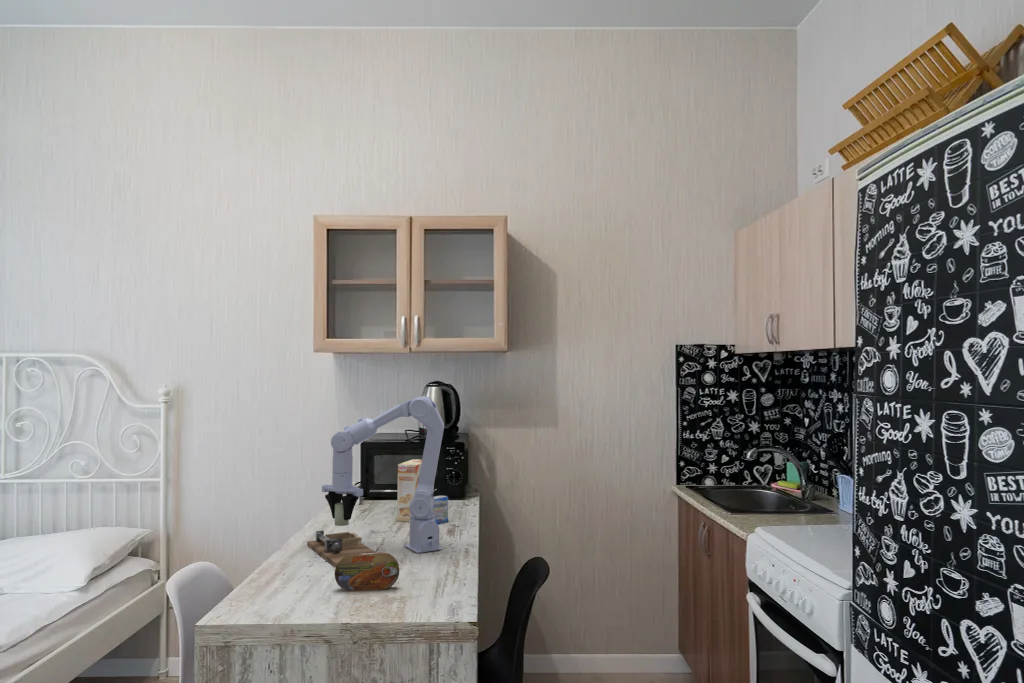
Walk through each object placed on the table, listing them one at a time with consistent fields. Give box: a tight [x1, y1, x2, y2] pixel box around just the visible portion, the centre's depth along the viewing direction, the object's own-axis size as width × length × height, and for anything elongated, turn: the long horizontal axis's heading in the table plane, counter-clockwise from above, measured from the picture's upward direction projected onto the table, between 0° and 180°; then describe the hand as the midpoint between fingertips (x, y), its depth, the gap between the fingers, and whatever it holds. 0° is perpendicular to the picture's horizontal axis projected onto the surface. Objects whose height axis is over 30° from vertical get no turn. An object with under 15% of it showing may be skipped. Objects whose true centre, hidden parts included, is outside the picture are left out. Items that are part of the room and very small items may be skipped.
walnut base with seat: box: [306, 530, 378, 568], centre depth 197 cm, size 29×13×3 cm, turn 32°
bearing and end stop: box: [315, 529, 342, 553], centre depth 200 cm, size 14×4×3 cm, turn 32°
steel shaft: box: [318, 534, 342, 553], centre depth 198 cm, size 16×3×3 cm, turn 32°
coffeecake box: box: [396, 458, 422, 523], centre depth 246 cm, size 15×7×20 cm, turn 168°
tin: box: [334, 552, 400, 592], centre depth 166 cm, size 15×3×8 cm, turn 98°
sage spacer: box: [334, 501, 350, 527], centre depth 204 cm, size 4×4×6 cm
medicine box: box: [431, 495, 449, 525], centre depth 237 cm, size 8×4×9 cm, turn 143°
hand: (341, 518), depth 204 cm, fingers closed on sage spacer, 4 cm apart
